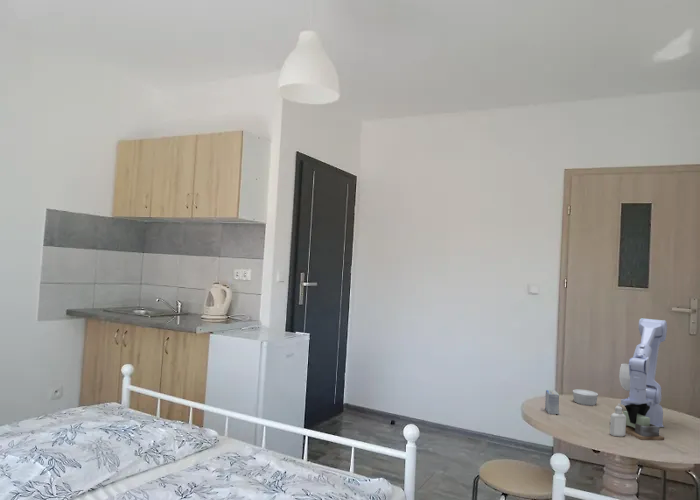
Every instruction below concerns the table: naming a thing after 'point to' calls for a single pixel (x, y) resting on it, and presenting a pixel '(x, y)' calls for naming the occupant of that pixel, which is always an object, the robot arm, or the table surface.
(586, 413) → the table surface
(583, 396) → the ramekin
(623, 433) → the eye dropper bottle
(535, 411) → the table surface
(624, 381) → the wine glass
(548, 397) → the medicine box
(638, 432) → the slotted holder
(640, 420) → the rail plank
